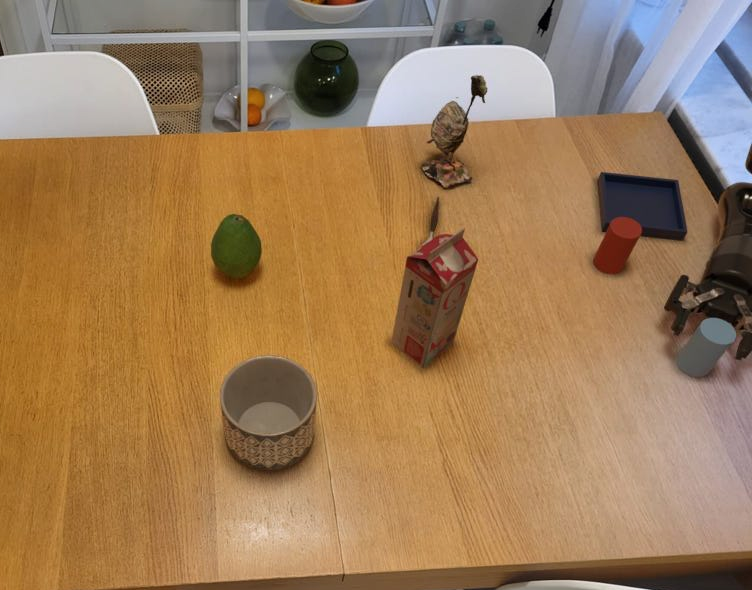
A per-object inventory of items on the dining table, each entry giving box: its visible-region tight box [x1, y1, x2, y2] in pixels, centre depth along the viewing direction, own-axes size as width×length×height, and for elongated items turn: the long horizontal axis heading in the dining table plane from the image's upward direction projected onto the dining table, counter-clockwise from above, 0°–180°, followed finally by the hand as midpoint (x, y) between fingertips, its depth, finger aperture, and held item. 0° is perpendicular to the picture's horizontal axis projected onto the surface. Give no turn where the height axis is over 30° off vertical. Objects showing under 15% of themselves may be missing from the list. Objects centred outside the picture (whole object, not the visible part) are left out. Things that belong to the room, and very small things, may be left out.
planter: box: [219, 354, 318, 471], centre depth 102 cm, size 13×13×10 cm
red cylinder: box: [592, 217, 642, 275], centre depth 121 cm, size 5×5×8 cm
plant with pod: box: [420, 74, 489, 188], centre depth 130 cm, size 8×11×20 cm
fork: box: [420, 196, 440, 247], centre depth 128 cm, size 3×16×2 cm, turn 166°
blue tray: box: [596, 171, 688, 241], centre depth 130 cm, size 13×13×2 cm
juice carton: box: [390, 227, 479, 369], centre depth 106 cm, size 7×7×22 cm
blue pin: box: [675, 317, 737, 378], centre depth 109 cm, size 5×5×8 cm
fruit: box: [210, 213, 263, 279], centre depth 119 cm, size 8×8×12 cm
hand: (709, 344), depth 107 cm, fingers open, 8 cm apart
